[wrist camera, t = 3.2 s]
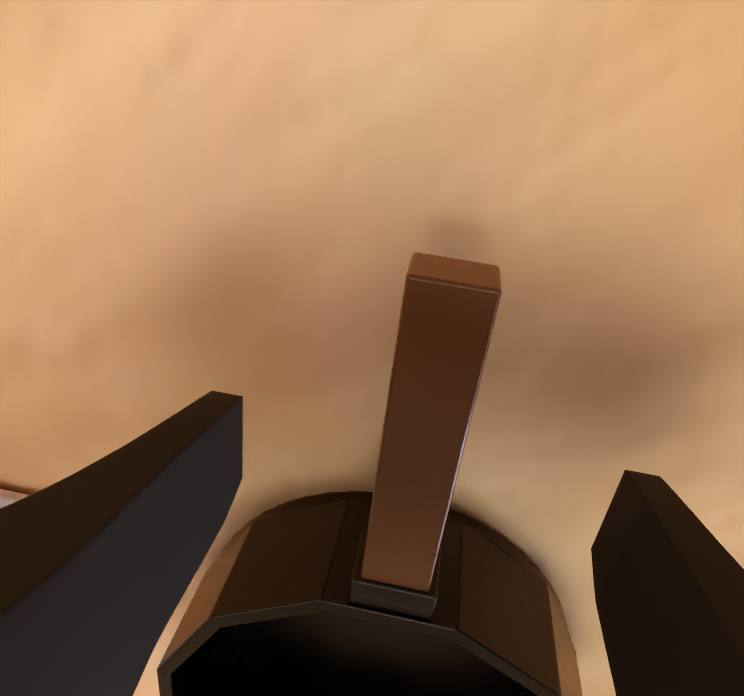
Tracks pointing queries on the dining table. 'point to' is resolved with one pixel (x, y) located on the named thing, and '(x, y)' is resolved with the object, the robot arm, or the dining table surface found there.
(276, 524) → the skillet
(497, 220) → the dining table surface
